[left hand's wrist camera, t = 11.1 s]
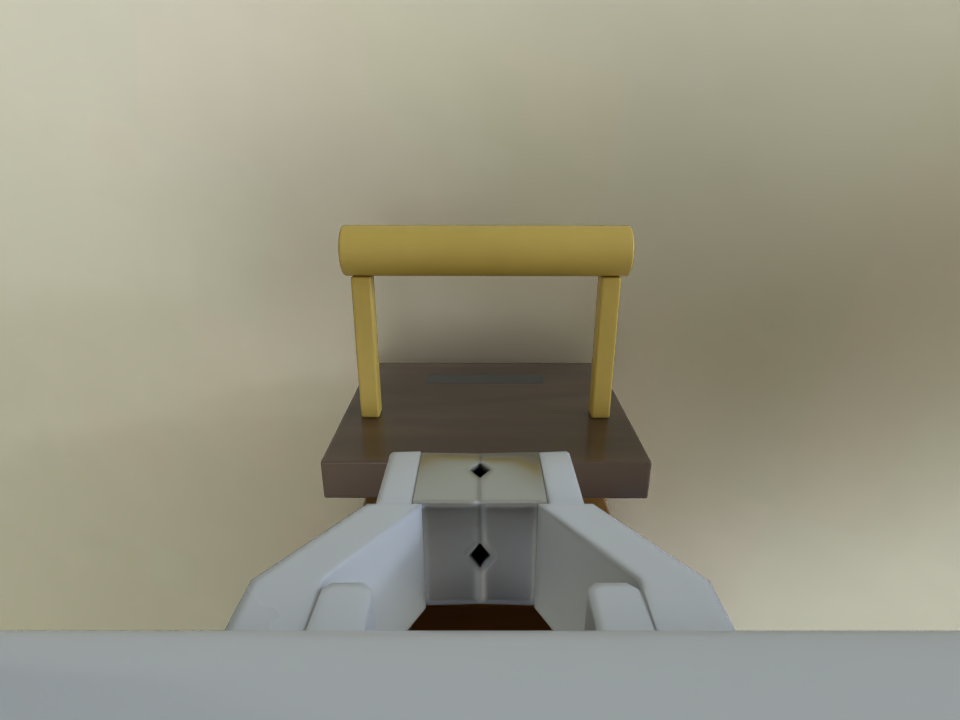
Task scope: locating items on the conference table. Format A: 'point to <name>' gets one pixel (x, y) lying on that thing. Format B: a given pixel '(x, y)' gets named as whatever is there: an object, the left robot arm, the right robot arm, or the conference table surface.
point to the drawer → (486, 379)
